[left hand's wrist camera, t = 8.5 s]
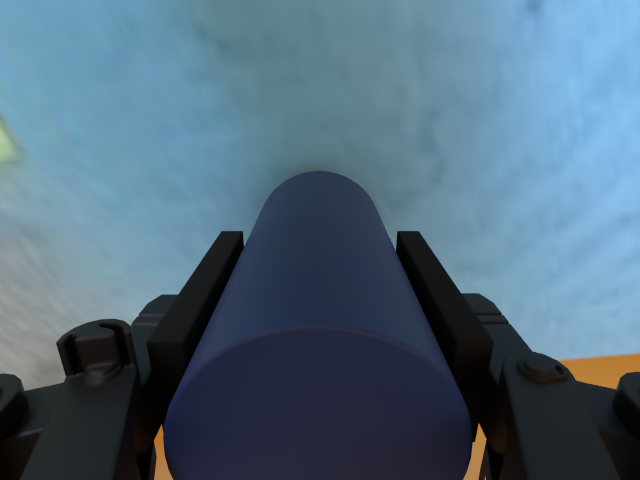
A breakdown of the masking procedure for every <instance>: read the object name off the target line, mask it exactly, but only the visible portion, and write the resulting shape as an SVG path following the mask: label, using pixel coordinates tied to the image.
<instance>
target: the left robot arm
mask: <svg viewBox="0 0 640 480" xmlns="http://www.w3.org/2000/svg"><path fill="white" fill-rule="evenodd" d="M243 249H244V242H243V231H221V233H220V234H219V236H218V237H217V239H216V240H215V242H214V243H213V245H212V246H211V248H210V249H209V250H208V252H207V253H206V255H205V256H204V258H203V259H202V261H201V262H200V264H199V265H198V267H197V268H196V270H195V271H194V272H193V274H192V275H191V277H190V278H189V280H188V281H187V283H186V284H185V286H184V287H183V289H182V290H181V292H180V293H179V294H178V295H161V296H159V297H157V298H156V299H154V300H153V301H151V302H150V303H148V304H147V305H146V306H145V308H144V309H143V310H142V311H141V313H140V314H139V317H137V318H136V319H135V320H134V321H133V323H132V326H130V325H129V324H127V323H126V322H125V321H122V320H117V319H101V320H97V321H92V322H88V323H85V324H83V325H80V326H78V327H75V328H73V329H72V330H70V331H69V332H67V333H66V334H64V335H63V336H62V337H61V338H60V339H59V340H58V341H57V343H56V344H57V347H58V351H59V354H60V357H61V361H62V364H63V368H64V371H65V375H66V379H65V381H64V382H63V383H60V384H56V385H51V386H46V387H42V388H37V389H32V390H27V391H24V388H23V385H22V382H21V379H19V378H18V377H17V376H15V375H11V374H0V480H154V475H155V466H156V451H155V445H154V439H155V437H156V435H157V433H158V431H159V429H160V426H161V424H162V427H163V432H164V424H165V419H166V415H167V412H168V408H169V405H170V403H171V401H172V399H173V397H174V395H175V393H176V391H177V388H178V386H179V384H180V382H181V380H182V378H183V376H184V374H185V372H186V369H187V367H188V365H189V363H190V361H191V359H192V357H193V355H194V352H195V350H196V348H197V346H198V344H199V342H200V340H201V338H202V336H203V333H204V331H205V329H206V327H207V325H208V323H209V321H210V319H211V317H212V314H213V312H214V310H215V308H216V306H217V304H218V302H219V300H220V297H221V295H222V293H223V291H224V289H225V287H226V285H227V283H228V281H229V278H230V276H231V274H232V272H233V270H234V268H235V266H236V264H237V261H238V259H239V257H240V255H241V253H242V251H243ZM396 253H397V255H398V258H399V260H400V262H401V264H402V266H403V268H404V271H405V273H406V275H407V277H408V279H409V281H410V284H411V286H412V288H413V290H414V292H415V295H416V297H417V299H418V301H419V303H420V305H421V308H422V310H423V312H424V314H425V316H426V318H427V321H428V323H429V325H430V327H431V329H432V331H433V334H434V336H435V338H436V340H437V342H438V344H439V347H440V349H441V351H442V353H443V355H444V358H445V360H446V362H447V364H448V366H449V368H450V371H451V373H452V375H453V377H454V379H455V381H456V384H457V386H458V388H459V390H460V392H461V394H462V397H463V399H464V401H465V404H466V406H467V408H468V411H469V415H470V419H471V423H472V436H473V442H475V439H476V434H477V428H478V423H479V424H480V426H481V428H482V430H483V432H484V434H485V437H486V439H487V440H486V445H485V450H484V455H483V459H482V464H481V469H480V474H479V480H484V479H485V475H486V480H640V372H632V373H626V374H625V375H623V376H622V377H621V378H620V380H619V383H618V386H617V389H611V388H607V387H602V386H597V385H592V384H588V383H583V382H579V381H576V380H575V378H574V376H573V375H572V374H571V372H570V371H569V370H568V368H566V367H565V366H564V365H562V364H561V363H560V362H558V361H557V360H555V359H553V358H551V357H548V356H546V355H544V354H540V353H536V352H532V350H531V349H530V348H529V347H528V346H527V344H526V343H525V342H524V341H523V339H522V338H521V337H520V336H519V334H518V333H517V332H516V331H515V329H514V328H513V327H512V326H511V324H509V322H508V321H507V319H506V318H505V317H504V316H503V315H502V313H501V312H500V311H499V309H498V308H497V307H496V306H495V304H494V303H493V302H491V301H490V300H488V299H487V298H485V297H483V296H482V295H480V294H479V293H460V291H459V290H458V288H457V287H456V285H455V284H454V282H453V281H452V279H451V278H450V277H449V275H448V274H447V272H446V271H445V269H444V268H443V266H442V265H441V263H440V262H439V260H438V259H437V257H436V256H435V254H434V253H433V252H432V250H431V249H430V247H429V246H428V244H427V243H426V241H425V240H424V238H423V237H422V235H421V234H420V232H419V231H398V232H397V245H396Z"/></svg>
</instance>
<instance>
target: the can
mask: <svg viewBox="0 0 640 480" xmlns="http://www.w3.org/2000/svg"><path fill="white" fill-rule="evenodd" d="M163 440H164V451H165V458H166V461H167V465H168V469H169V471H170V473H171V476H172V478H173V480H463V478H464V476H465V474H466V472H467V469H468V466H469V462H470V459H471V452H472V443H473V436H472V423H471V419H470V415H469V411H468V408H467V406H466V404H465V401H464V399H463V397H462V394H461V392H460V390H459V388H458V386H457V384H456V381H455V379H454V377H453V375H452V373H451V371H450V368H449V366H448V364H447V362H446V360H445V358H444V355H443V353H442V351H441V349H440V347H439V344H438V342H437V340H436V338H435V336H434V334H433V331H432V329H431V327H430V325H429V323H428V321H427V318H426V316H425V314H424V312H423V310H422V308H421V305H420V303H419V301H418V299H417V297H416V295H415V292H414V290H413V288H412V286H411V284H410V281H409V279H408V277H407V275H406V273H405V271H404V268H403V266H402V264H401V262H400V260H399V258H398V255H397V253H396V251H395V249H394V247H393V245H392V242H391V240H390V238H389V236H388V234H387V231H386V229H385V227H384V225H383V223H382V221H381V218H380V216H379V214H378V212H377V210H376V208H375V205H374V203H373V202H372V200H371V198H370V197H369V195H368V194H367V193H366V192H365V191H364V190H363V189H362V188H361V187H360V186H359V185H358V184H356V183H355V182H353V181H352V180H350V179H348V178H346V177H344V176H341V175H339V174H335V173H331V172H322V171H318V172H308V173H303V174H300V175H297V176H294V177H292V178H290V179H288V180H287V181H285V182H283V183H282V184H281V185H279V186H278V187H277V188H276V189H275V190H274V191H273V192H272V193H271V195H270V196H269V197H268V199H267V201H266V202H265V204H264V206H263V209H262V211H261V213H260V215H259V217H258V219H257V221H256V223H255V225H254V228H253V230H252V232H251V234H250V236H249V238H248V240H247V242H246V245H245V247H244V249H243V251H242V253H241V255H240V257H239V259H238V261H237V264H236V266H235V268H234V270H233V272H232V274H231V276H230V278H229V281H228V283H227V285H226V287H225V289H224V291H223V293H222V295H221V297H220V300H219V302H218V304H217V306H216V308H215V310H214V312H213V314H212V317H211V319H210V321H209V323H208V325H207V327H206V329H205V331H204V333H203V336H202V338H201V340H200V342H199V344H198V346H197V348H196V350H195V352H194V355H193V357H192V359H191V361H190V363H189V365H188V367H187V369H186V372H185V374H184V376H183V378H182V380H181V382H180V384H179V386H178V388H177V391H176V393H175V395H174V397H173V399H172V401H171V403H170V405H169V408H168V412H167V415H166V419H165V424H164V436H163Z"/></svg>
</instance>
